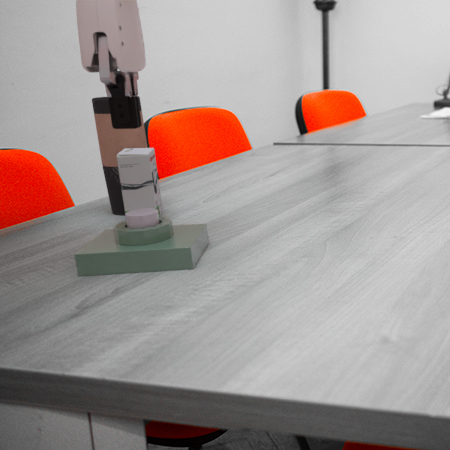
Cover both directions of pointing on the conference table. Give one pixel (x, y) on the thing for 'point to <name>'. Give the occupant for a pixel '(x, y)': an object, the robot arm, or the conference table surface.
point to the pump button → (142, 218)
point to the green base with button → (143, 249)
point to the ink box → (139, 179)
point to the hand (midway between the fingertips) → (127, 127)
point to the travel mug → (114, 148)
